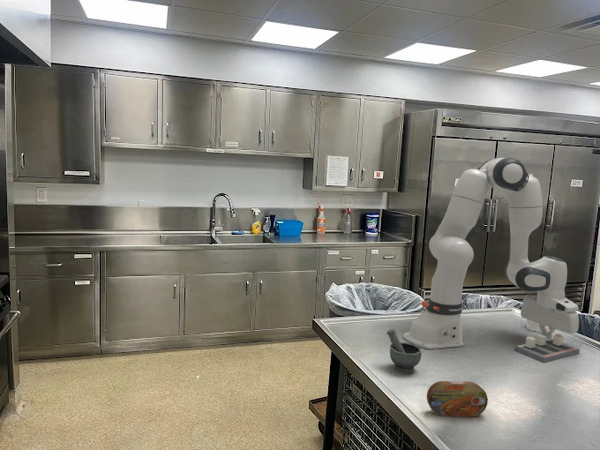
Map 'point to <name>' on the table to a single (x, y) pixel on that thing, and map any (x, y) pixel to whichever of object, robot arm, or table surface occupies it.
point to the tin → (457, 398)
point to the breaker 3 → (558, 339)
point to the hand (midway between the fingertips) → (546, 337)
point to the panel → (547, 351)
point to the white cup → (533, 326)
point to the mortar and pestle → (403, 354)
